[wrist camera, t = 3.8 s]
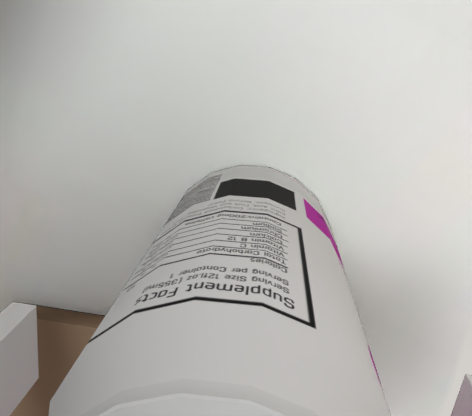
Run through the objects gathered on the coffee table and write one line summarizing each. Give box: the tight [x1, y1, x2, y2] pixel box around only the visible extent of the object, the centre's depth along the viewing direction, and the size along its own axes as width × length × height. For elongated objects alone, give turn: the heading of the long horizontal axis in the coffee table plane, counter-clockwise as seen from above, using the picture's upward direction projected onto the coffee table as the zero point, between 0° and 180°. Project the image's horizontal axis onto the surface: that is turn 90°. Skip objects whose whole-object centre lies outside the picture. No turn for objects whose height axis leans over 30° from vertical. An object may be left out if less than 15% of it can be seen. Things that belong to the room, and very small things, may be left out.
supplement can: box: [48, 165, 391, 416], centre depth 16 cm, size 8×8×15 cm
